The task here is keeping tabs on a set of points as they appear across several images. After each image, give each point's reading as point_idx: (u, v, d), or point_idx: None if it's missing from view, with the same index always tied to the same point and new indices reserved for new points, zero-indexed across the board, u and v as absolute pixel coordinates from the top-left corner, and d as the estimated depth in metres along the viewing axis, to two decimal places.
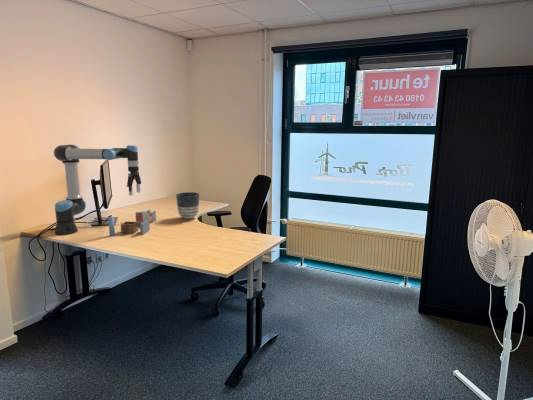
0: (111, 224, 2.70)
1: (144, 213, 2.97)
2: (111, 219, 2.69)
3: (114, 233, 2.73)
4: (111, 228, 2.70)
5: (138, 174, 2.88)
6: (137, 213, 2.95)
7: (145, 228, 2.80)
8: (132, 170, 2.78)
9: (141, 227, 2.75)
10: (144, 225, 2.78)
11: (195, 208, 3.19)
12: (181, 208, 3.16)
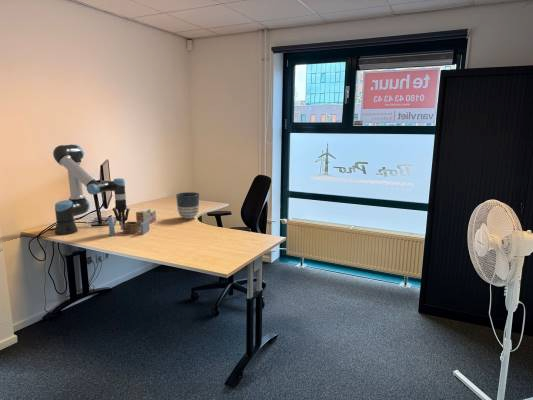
0: (111, 224, 2.70)
1: (145, 213, 2.98)
2: (111, 219, 2.69)
3: (114, 233, 2.73)
4: (111, 228, 2.70)
5: (126, 210, 2.78)
6: (138, 213, 2.96)
7: (145, 228, 2.80)
8: None
9: (141, 227, 2.75)
10: (144, 225, 2.78)
11: (195, 208, 3.19)
12: (181, 208, 3.16)
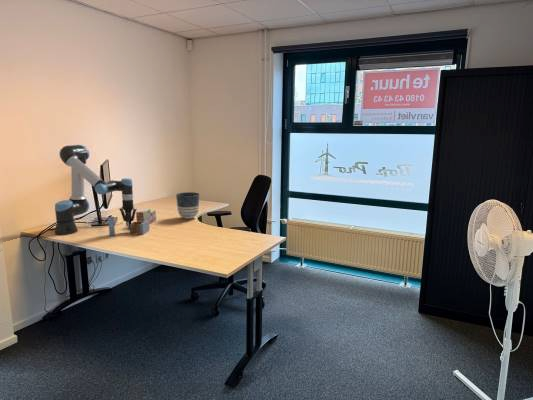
0: (111, 224, 2.70)
1: (145, 213, 2.98)
2: (111, 219, 2.69)
3: (114, 233, 2.73)
4: (111, 228, 2.70)
5: (133, 211, 2.78)
6: (138, 213, 2.96)
7: (145, 228, 2.80)
8: None
9: (141, 227, 2.75)
10: (144, 225, 2.78)
11: (195, 208, 3.19)
12: (181, 208, 3.16)
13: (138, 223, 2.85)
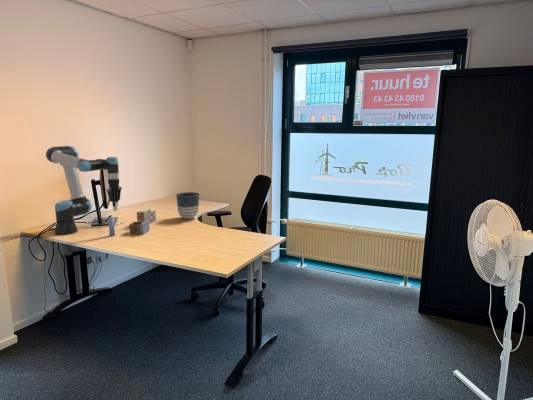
0: (111, 224, 2.70)
1: (145, 213, 2.98)
2: (111, 219, 2.69)
3: (114, 233, 2.73)
4: (111, 228, 2.70)
5: (119, 189, 2.74)
6: (138, 213, 2.96)
7: (145, 228, 2.80)
8: (110, 183, 2.66)
9: (141, 227, 2.75)
10: (144, 225, 2.78)
11: (195, 208, 3.19)
12: (181, 208, 3.16)
13: (138, 223, 2.85)
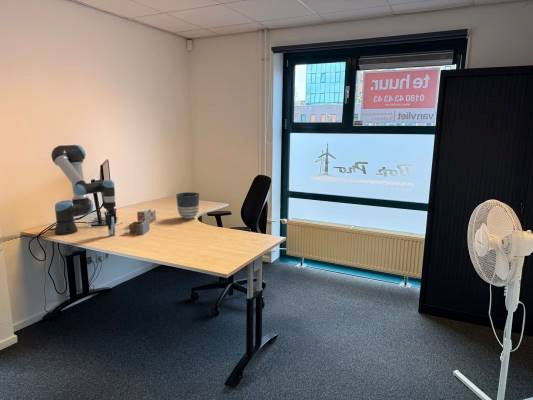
0: (111, 224, 2.70)
1: (146, 212, 2.99)
2: (111, 219, 2.69)
3: (114, 233, 2.73)
4: None
5: (115, 211, 2.74)
6: (139, 212, 2.97)
7: (145, 228, 2.80)
8: (108, 206, 2.65)
9: (141, 227, 2.75)
10: (144, 225, 2.78)
11: (195, 208, 3.19)
12: (181, 208, 3.16)
13: (138, 223, 2.85)
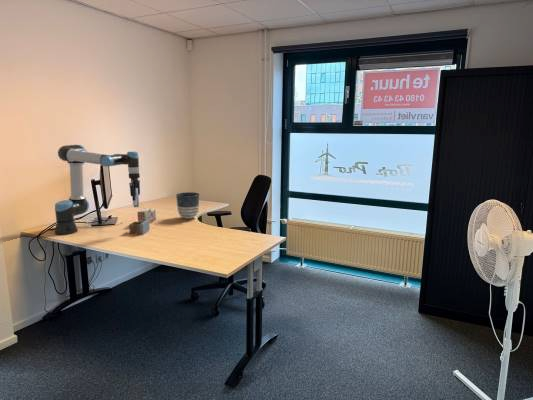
0: None
1: (146, 212, 2.99)
2: (136, 190, 2.74)
3: (138, 204, 2.78)
4: None
5: (139, 183, 2.79)
6: (139, 212, 2.97)
7: (145, 228, 2.80)
8: (133, 177, 2.70)
9: (141, 227, 2.75)
10: (144, 225, 2.78)
11: (195, 208, 3.19)
12: (181, 208, 3.16)
13: (138, 223, 2.85)
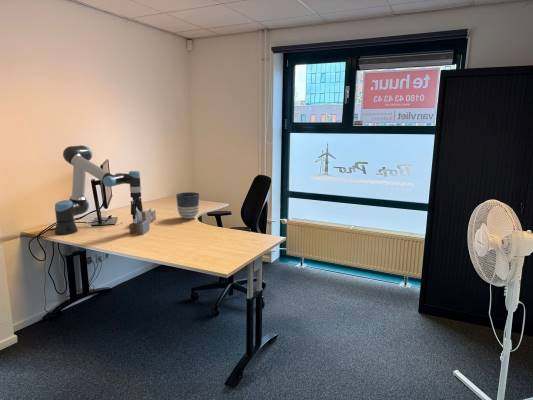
0: (137, 217, 2.78)
1: (146, 212, 3.00)
2: (137, 213, 2.77)
3: None
4: (137, 221, 2.79)
5: (140, 200, 2.83)
6: None
7: (145, 228, 2.80)
8: (134, 196, 2.73)
9: (141, 227, 2.75)
10: (144, 225, 2.78)
11: (195, 208, 3.19)
12: (181, 208, 3.16)
13: None
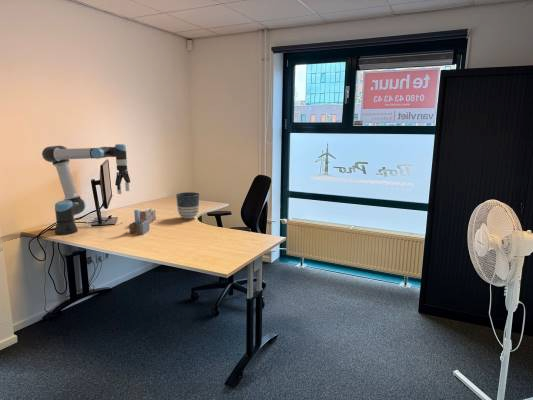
0: (137, 217, 2.78)
1: (147, 212, 3.01)
2: (137, 213, 2.78)
3: None
4: (137, 221, 2.79)
5: (127, 173, 2.89)
6: (140, 212, 2.98)
7: (145, 228, 2.80)
8: (120, 169, 2.79)
9: (141, 227, 2.75)
10: (144, 225, 2.78)
11: (195, 208, 3.19)
12: (181, 208, 3.16)
13: None
